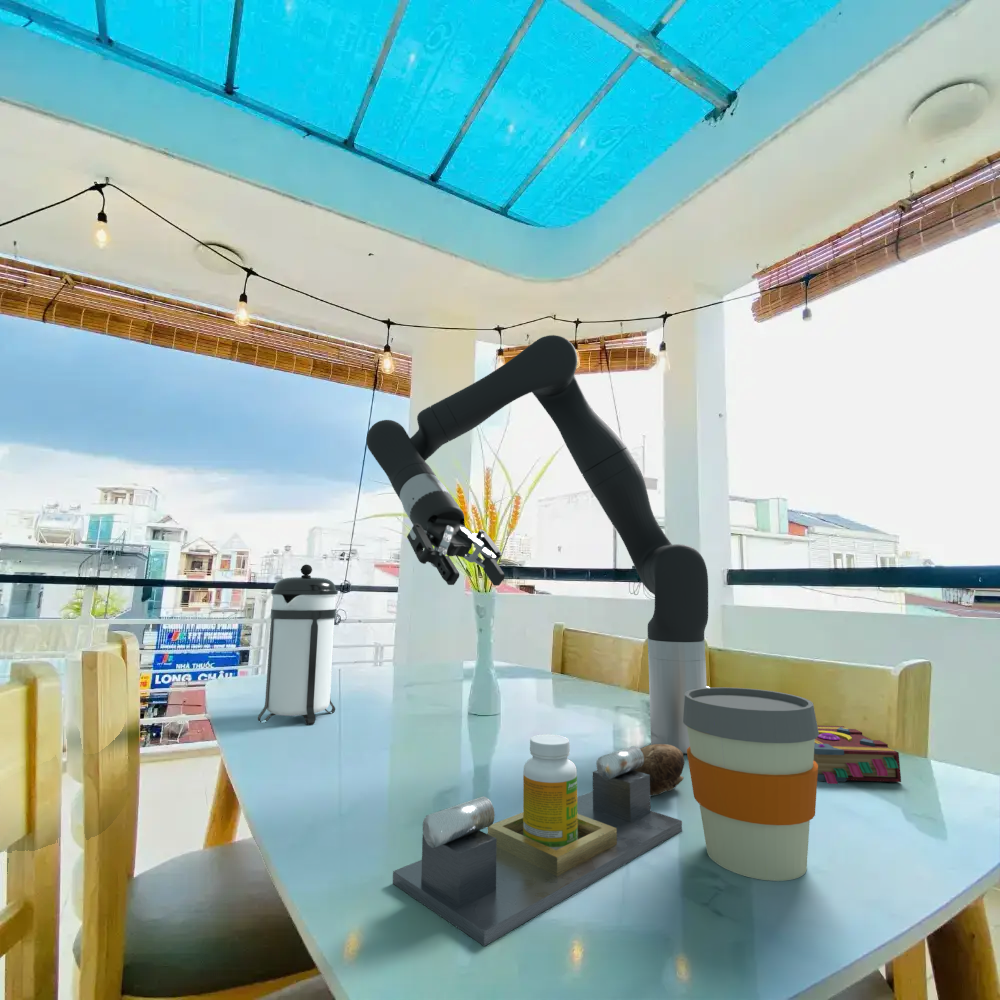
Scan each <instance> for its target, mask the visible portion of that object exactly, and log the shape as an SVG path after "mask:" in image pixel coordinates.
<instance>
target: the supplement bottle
mask: <svg viewBox="0 0 1000 1000" xmlns="http://www.w3.org/2000/svg"><path fill="white" fill-rule="evenodd" d="M529 743H530V744H529V753H530V755H531V756H532V757H531V758H529V759H528V760H527V761H526V762H524V766H523V776H522V777H523V779H522V781H523V782H522V784H523V785H522V786H523V787H522V788H523V789H522V790H523V793H522V794H523V796H522V797H523V798H522V799H523V803H522V806H523V807H522V809H523V811H522V812H523V836H525V837H528V838H530V839H532V840H534V841H536V842H539V843H541V844H543V845H545V846H548V847H550V848H552V849H554V850H557V849H560V848H562V847H564V846H566V845H568V844H570V843H572V842H574V841H576V840H578V820H577V797H578V772H577V771H578V770H577V767H576V764H575V763H574V762H573V761H572V760H570V759H569V758H568V757H569V756H570V755H571V754H570V746H571V745H570V740H569V738H567V737H565V736H562V735H559V734H552V733H551V734H547V733H546V734H537V735H533V736H531V737H530V739H529Z"/></svg>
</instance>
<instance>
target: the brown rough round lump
mask: <svg viewBox="0 0 1000 1000" xmlns="http://www.w3.org/2000/svg"><path fill="white" fill-rule="evenodd" d="M639 749H640V750H641V751H642V753H643V756H644V763H643V765H642V766H641V767H640V768H637V769H635V770H634V771H638V772H642V773H645V774H649V775H650V797H652V796H653V797H654V796H658V795H661V794H663V793H665V792H670V791H672V790H674V789H675V788H676V787H678V785H679V784H681V783H682V781H683V780H684V776H682V773H683V770H684V767H685V763H686V762H685V758H684V753H682V752H681V750H679V749H678V748H676V747H674V746H672V745H667V744H654V745H652V744H648V745H646V746H644V747H641V748H639Z"/></svg>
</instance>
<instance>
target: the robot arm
mask: <svg viewBox="0 0 1000 1000" xmlns="http://www.w3.org/2000/svg"><path fill="white" fill-rule="evenodd" d="M577 367H578V353H577V350H576V347H575V346H574V345H573V343H572V342H571V341H569V339H566V338H565V337H564V336H561V335H555V334H551V335H546V336H542V337H540V338H538V339H537V340H535V341H534V342H533V343H531V344H530V345H528V346H527V347H526V348H524V349H523V350H522V351H521V352H519V353H518V354H517V355H515V356H513V357H512V358H511V359H509V360H508V361H507V362H505V363H504V364H502V365H501V366H500V367H498V368H497V369H495V370H494V371H492V372H491V373H489V374H487V375H486V376H484V377H482V378H480V379H479V380H477V381H475V382H474V383H472V384H470V385H468V386H466V387H464V388H462V389H461V390H458V391H456V392H455V393H453V394H451V395H449V396H447V397H444V398H442V399H441V400H439V401H438V402H435V403H434V404H431V406H428V407H426V408H425V409H424V408H423V410H421V411H419V413H417V417H416V421H417V424H418V430H417V431H416V432H415V433H414V434H413V435H412V436H411V437H410V436H409V434H408V433H407V431H406V430H405V428H404V426H402V425H401V424H400V423H399V422H397V421H395V420H391V419H382V420H379V421H377V422H376V423H374V424H372V425H371V427H370V428H369V430H368V432H367V435H366V446H367V448H368V451H369V452H370V453H371V455H372V456H373V458H374V459H375V461H376V462H377V463H378V464H379V466H380V468H381V469H382V471H384V473H385V474H386V476H387V478H388V480H389V482H390V484H391V487H392V488H393V491H394V492H395V494H396V495H397V496H398V499H399V500H400V503H401V504H402V507H403V510H404V512H405V513H406V515H407V517H408V519H409V521H410V522H411V523H412V525H413V526H412V527H411V528H410V531H409V532H408V534H407V536H406V538H407V540H408V543H409V544H410V546H411V549H412V550H413V552H414V554H415V556H416V558H417V560H418V561H419V563H421V564H423V565H425V564H427V563H430V564H431V566H432V567H434V568H436V569H437V571H438V573H439V574H440V576H441V579H443V581H444V582H445V583H446V584H447V585H448V586H454V585H455V584H456V582H457V581H458V579H459V577H460V572H459V570H458V568H457V567H456V566H455V564H454V562H453V561H452V559H451V558H450V557H460V558H463V559H465V560H466V561H468V562H469V563H470V564H471V563H472V564H473V563H475V564H477V565H478V566H480V567H481V568H483V572H484V574H485V575H486V576H487V577H488V580H489V581H490V582H491V584H492V585H493V586H495V587H496V586H497V587H498V586H500V585H501V584H502V582H503V581H504V579H505V572H504V571H503V570H502V568H501V567H500V565H499V564H498V561H499V560H500V558H501V557H502V556H503V553H502V551H501V550H500V549H499V548H498V546H497V545H496V544H495V542H494V540H492V538H491V537H490V536H489V535H488V533H487V532H486V531H485V530H484V529H481V528H480V529H479V531H478V532H477V533H475V532H474V533H473V532H472V531H471V530H470V529H469V528H467V527H466V524H465V523H466V522H465V514H464V512H463V510H462V509H461V508H460V506H459V504H458V503H457V501H456V500H455V499H454V497H453V496H452V494H451V492H449V490H448V488H447V487H446V485H444V483H443V482H442V481H441V480H440V479H439V478H438V476H436V474H435V472H434V471H433V470H432V468H431V466H430V465H428V463H427V462H426V461H427V459H429V458H430V457H431V456H433V455H434V454H435V453H436V452H437V451H438V450H439V448H441V447H442V446H443V445H445V444H447V443H449V442H451V441H453V440H455V439H456V438H457V439H458V438H459V437H461V436H463V435H464V434H466V433H468V432H470V431H472V430H473V429H475V428H476V427H479V425H481V424H482V423H484V422H485V421H486V420H488V419H489V418H490V417H492V416H493V415H494V414H496V413H497V412H498V411H500V410H501V409H503V408H504V407H506V406H507V405H509V404H510V403H512V402H514V401H516V400H518V399H520V398H522V397H524V396H526V395H528V394H531V393H532V394H533V396H534V397H535V398H536V399H537V401H538V402H539V404H541V406H542V407H543V408H544V410H545V411H546V413H547V415H548V416H549V417H550V418H551V420H552V421H553V423H554V424H555V427H556V428H557V429H558V431H559V433H560V435H561V437H562V440H563V441H564V443H565V445H566V448H567V450H568V451H569V454H570V456H571V457H572V459H573V460H574V463H575V464H576V467H577V469H578V470H579V472H580V473H581V475H582V478H583V479H584V481H585V483H586V484H587V485H588V487H589V489H590V490H591V492H592V494H593V495H594V497H595V498H596V500H597V501H598V503H599V505H600V506H601V508H602V509H603V511H604V513H605V515H606V517H607V518H608V520H609V521H610V523H611V524H612V526H613V527H614V529H615V530H616V531H617V533H618V535H619V536H620V538H621V540H622V542H623V544H624V546H625V549H626V550H627V553H628V555H629V557H630V559H631V562H632V563H633V566H634V568H635V570H636V573H637V574H638V576H639V579H640V581H641V582H642V584H643V586H644V587H645V588H646V589H647V591H649V592H650V593H651V594H653V595H654V610H653V615H652V617H651V619H650V620H649V621H648V623H647V650H648V651H647V654H648V655H647V656H648V658H647V659H648V660H647V661H648V683H649V684H648V685H649V687H648V689H649V691H648V692H649V694H648V695H649V720H650V721H649V722H650V723H649V724H650V725H649V727H650V745H654V744H667V745H672V746H674V747H676V748H678V749H679V750H681V752H682V753H683V754H687V749H688V748H689V747H690V743H689V736H688V730H687V726H686V725H685V724H684V723H683V715H684V700H685V693H686V692H687V691H690V690H693V689H700V688H711V687H710V686H708V685H707V667H706V666H707V665H706V663H707V662H706V645H705V630H706V627H707V624H708V619H709V576H708V575H709V574H708V569H707V565H706V562H705V559H704V558H703V556H702V555H701V553H700V552H699V551H698V550H697V549H695V548H694V547H692V546H690V545H687V544H681V543H680V544H679V543H678V544H673V543H672V542H671V541H670V539H669V538H668V537H667V535H666V534H665V533H664V531H663V530H662V528H661V527H660V525H659V523H658V521H657V520H656V518H655V516H654V515H655V514H654V513H653V511H652V507H651V504H650V503H651V502H650V497H649V495H648V491H647V490H648V489H647V487H646V483H645V479H644V475H643V474H642V473H643V472H642V471H641V468H640V467H639V464H637V462H636V460H635V458H634V456H633V455H632V453H631V452H630V449H628V446H627V445H626V443H625V442H624V441H623V439H622V438H621V437H620V436H619V434H618V433H617V432H616V430H614V429H613V428H612V427H611V426H610V424H608V423H607V421H605V420H604V419H603V418H602V416H600V415H599V414H598V413H597V412H596V411H595V409H594V408H593V407H592V406H591V404H590V403H589V401H588V399H587V398H586V395H585V394H584V392H583V389H582V388H581V387H580V385H579V382H578V380H577V378H576V376H575V373H576V371H577ZM473 545H474V546H473ZM472 547H473V548H474V550H473V552H472V553H469V552H470V551H471V549H472ZM479 554H480V555H481V556H482V558H483V559H482V558H481V557H479Z"/></svg>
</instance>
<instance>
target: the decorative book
mask: <svg viewBox="0 0 1000 1000" xmlns="http://www.w3.org/2000/svg"><path fill="white" fill-rule="evenodd" d="M817 727H818V732H819V736H818V737H817V738H816V739H815V744H814V761H815V762H816V763H817V764H818V776H817V782H826V783H827V784H829V785H830V784H831V785H832V784H834V785H836V784H837V785H838V784H839V783H838V782H847V781H858V782H859V781H862V782H863V781H865V782H891V783H892V782H893V783H895V782H896V783H902V776H901V775H902V773H901V765H900V764H901V763H900V754H899V752H898V751H896V750H894V749H893V748H890V747H889V744H888V743H886V742H884V741H882V740H881V739H880V740H879V739H877V740H876V739H871V738H869V737H867V736H865V735H863V732H862V731H861V730H859V729H856V728H848V727H846V726H843V725H817Z"/></svg>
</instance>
